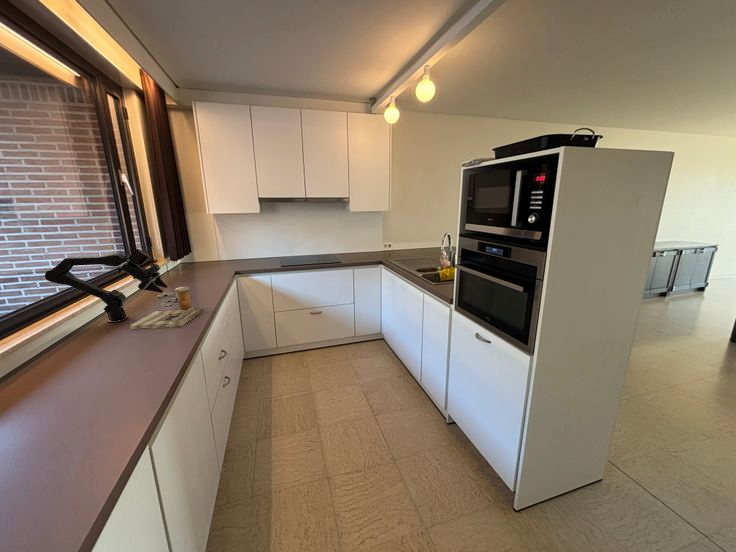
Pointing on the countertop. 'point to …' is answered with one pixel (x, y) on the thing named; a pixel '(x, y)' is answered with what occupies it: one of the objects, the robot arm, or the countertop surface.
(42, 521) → the countertop surface
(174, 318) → the cross bar
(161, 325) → the rectangular frame
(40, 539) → the countertop surface
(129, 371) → the countertop surface
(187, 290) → the cord reel
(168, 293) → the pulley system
